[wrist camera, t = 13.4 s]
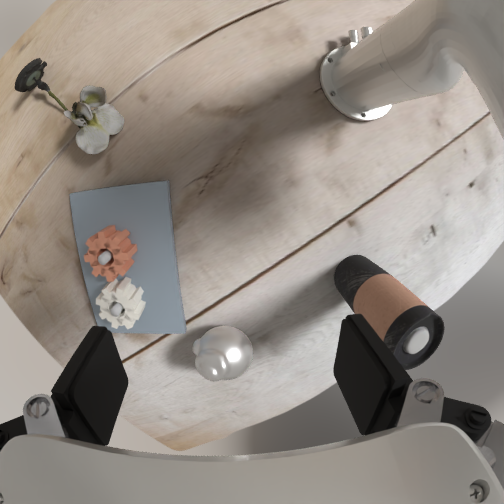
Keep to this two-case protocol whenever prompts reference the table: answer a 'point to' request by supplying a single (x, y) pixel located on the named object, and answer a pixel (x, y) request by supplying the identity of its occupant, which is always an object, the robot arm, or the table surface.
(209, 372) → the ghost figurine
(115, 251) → the terracotta gear
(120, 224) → the gear board
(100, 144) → the artificial flower
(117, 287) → the cream gear
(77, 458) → the robot arm
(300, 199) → the table surface
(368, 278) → the travel mug
